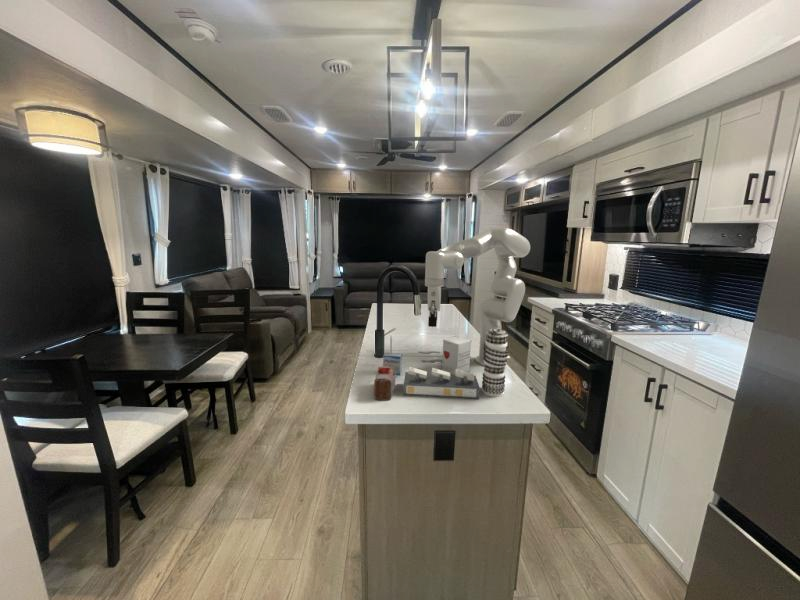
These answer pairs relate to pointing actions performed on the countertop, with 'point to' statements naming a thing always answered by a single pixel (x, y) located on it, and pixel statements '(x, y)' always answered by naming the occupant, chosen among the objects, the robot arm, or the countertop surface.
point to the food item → (384, 383)
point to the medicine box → (393, 361)
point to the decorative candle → (494, 362)
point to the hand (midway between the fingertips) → (432, 323)
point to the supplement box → (456, 354)
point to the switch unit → (441, 386)
